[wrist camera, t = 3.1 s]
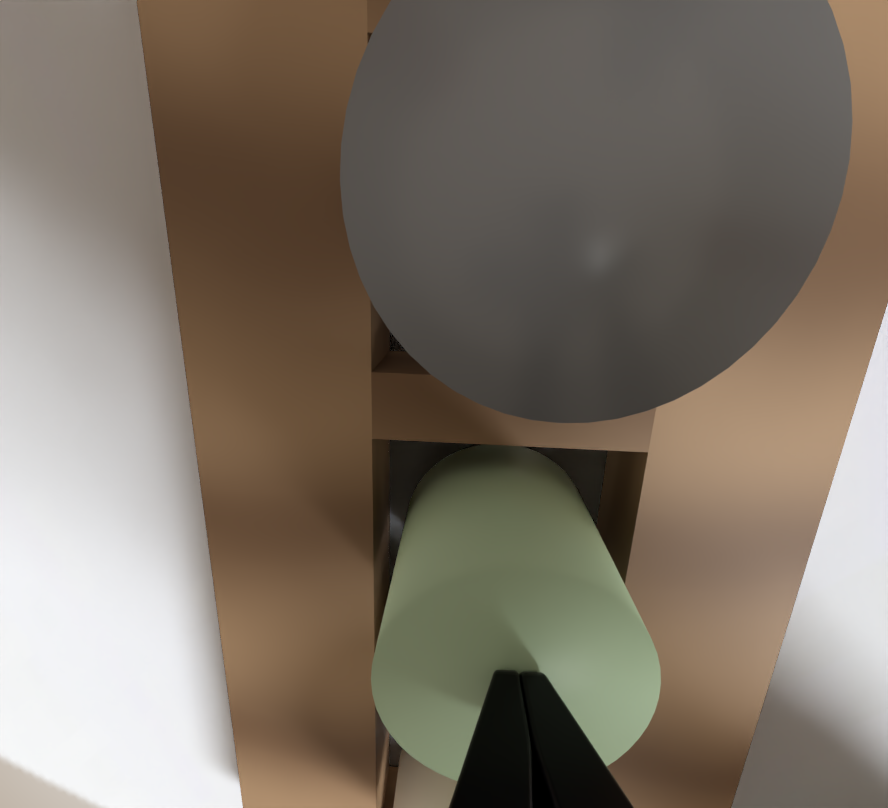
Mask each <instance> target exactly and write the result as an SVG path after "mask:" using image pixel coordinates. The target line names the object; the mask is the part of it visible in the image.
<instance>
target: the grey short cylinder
mask: <svg viewBox="0 0 888 808" xmlns="http://www.w3.org/2000/svg"><path fill="white" fill-rule="evenodd" d="M852 123H853V119H852V98H851V82H850V76H849V71H848V65H847V60H846V54H845V49H844V44H843V41H842V38H841V35H840V32H839V29H838V26H837V23H836V20H835V17H834V14H833V11H832V9H831V7H830V5H829V3H828V1H827V0H391V1H390V3H389V4H388V6H387V8H386V10H385V12H384V13H383V15H382V17H381V19H380V21H379V22H378V24H377V26H376V28H375V30H374V31H373V33H372V35H371V37H370V40H369V42H368V45H367V47H366V49H365V52H364V54H363V57H362V59H361V62H360V64H359V67H358V69H357V72H356V75H355V79H354V83H353V86H352V90H351V94H350V97H349V101H348V105H347V108H346V115H345V122H344V128H343V135H342V142H341V162H340V187H341V199H342V210H343V218H344V222H345V227H346V232H347V237H348V242H349V246H350V250H351V253H352V256H353V259H354V262H355V265H356V268H357V270H358V273H359V276H360V279H361V281H362V283H363V285H364V287H365V289H366V291H367V294H368V296H369V298H370V300H371V302H372V304H373V306H374V308H375V309H376V311H377V312H378V314H379V315H380V317H381V318H382V320H383V322H384V323H385V325H386V326H387V328H388V329H389V331H390V332H391V333H392V335H393V336H394V337H395V338H396V339H397V341H398V342H399V343H400V344H401V345H402V347H403V348H404V349H405V350H406V351H407V353H408V354H409V355H410V356H411V357H412V358H414V359H415V360H416V361H417V362H418V363H419V364H420V365H421V366H422V367H423V368H424V369H425V370H427V371H428V372H429V373H430V374H431V375H432V376H434V377H435V378H437V379H438V380H439V381H441V382H442V383H444V384H445V385H447V386H448V387H449V388H451V389H452V390H454V391H455V392H457V393H459V394H461V395H463V396H465V397H467V398H469V399H470V400H472V401H474V402H476V403H478V404H481V405H483V406H486V407H488V408H491V409H494V410H496V411H499V412H502V413H504V414H508V415H513V416H517V417H521V418H525V419H529V420H536V421H545V422H554V423H590V422H597V421H605V420H612V419H618V418H622V417H626V416H630V415H634V414H638V413H642V412H645V411H648V410H651V409H653V408H656V407H659V406H661V405H664V404H666V403H669V402H671V401H674V400H676V399H678V398H680V397H682V396H684V395H686V394H687V393H689V392H691V391H693V390H695V389H697V388H699V387H701V386H702V385H704V384H705V383H707V382H708V381H710V380H711V379H713V378H714V377H716V376H717V375H719V374H720V373H722V372H723V371H725V370H726V369H728V368H729V367H730V366H731V365H732V364H734V363H735V362H736V361H737V360H738V359H740V358H741V357H742V356H743V355H744V354H745V353H747V352H748V351H749V350H750V349H751V348H753V347H754V346H755V345H756V343H757V342H758V341H759V340H760V339H761V338H762V337H763V336H764V335H765V334H766V333H767V332H768V331H769V330H770V329H771V328H772V327H773V325H774V324H775V323H776V322H777V321H778V320H779V318H780V317H781V316H782V314H783V313H784V312H785V310H786V309H787V308H788V306H789V305H790V304H791V303H792V301H793V300H794V299H795V297H796V296H797V295H798V293H799V291H800V290H801V288H802V286H803V285H804V283H805V281H806V280H807V278H808V276H809V275H810V273H811V271H812V270H813V268H814V266H815V265H816V262H817V260H818V258H819V256H820V254H821V251H822V249H823V247H824V245H825V243H826V241H827V238H828V236H829V234H830V232H831V229H832V226H833V223H834V220H835V217H836V214H837V211H838V208H839V204H840V201H841V198H842V195H843V190H844V185H845V180H846V175H847V170H848V165H849V160H850V148H851V136H852Z"/></svg>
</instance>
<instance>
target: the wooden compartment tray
mask: <svg viewBox="0 0 888 808" xmlns="http://www.w3.org/2000/svg"><path fill="white" fill-rule="evenodd" d="M390 1H391V0H137V7H138V15H139V22H140V30H141V37H142V45H143V52H144V60H145V68H146V75H147V83H148V90H149V98H150V106H151V113H152V121H153V128H154V136H155V143H156V151H157V159H158V166H159V174H160V181H161V189H162V196H163V204H164V212H165V219H166V227H167V234H168V242H169V250H170V257H171V265H172V272H173V280H174V287H175V295H176V303H177V310H178V318H179V325H180V333H181V341H182V348H183V356H184V363H185V371H186V378H187V386H188V394H189V401H190V409H191V416H192V424H193V431H194V439H195V447H196V454H197V462H198V469H199V477H200V485H201V492H202V500H203V507H204V515H205V522H206V530H207V538H208V545H209V553H210V560H211V568H212V576H213V583H214V591H215V598H216V606H217V613H218V621H219V629H220V636H221V644H222V651H223V659H224V666H225V674H226V682H227V689H228V697H229V704H230V712H231V720H232V727H233V735H234V742H235V750H236V757H237V765H238V773H239V780H240V788H241V795H242V803H243V808H393V805H394V798H395V790H396V782H397V775H398V767H391V766H389V732H388V730H387V729H386V727H385V725H384V724H383V722H382V720H381V718H380V716H379V714H378V711H377V709H376V706H375V702H374V698H373V695H372V686H371V670H372V662H373V658H374V653H375V649H376V645H377V640H378V636H379V632H380V627H381V623H382V619H383V614H384V610H385V606H386V602H387V597H388V593H389V589H390V440H405V441H425V442H445V443H466V444H486V445H507V446H527V447H548V448H568V449H589V450H608V452H607V459H606V465H605V472H604V479H603V485H602V492H601V499H600V505H599V512H598V519H597V525H596V528H597V530H598V532H599V534H600V536H601V538H602V540H603V542H604V544H605V546H606V548H607V550H608V552H609V554H610V556H611V558H612V560H613V562H614V564H615V566H616V568H617V570H618V572H619V574H620V576H621V578H622V580H623V582H624V584H625V586H626V588H627V590H628V592H629V594H630V596H631V598H632V600H633V602H634V604H635V606H636V608H637V610H638V612H639V614H640V616H641V618H642V620H643V623H644V625H645V627H646V629H647V631H648V633H649V635H650V637H651V639H652V641H653V644H654V646H655V649H656V651H657V654H658V659H659V664H660V670H661V687H660V694H659V700H658V703H657V706H656V709H655V712H654V714H653V717H652V719H651V721H650V723H649V725H648V726H647V728H646V729H645V731H644V732H643V734H642V735H641V736H640V738H639V739H638V740H637V741H636V742H635V743H634V745H633V746H632V747H631V748H630V749H629V750H628V751H627V752H625V753H624V754H623V755H622V756H621V757H619V758H618V759H617V760H616V761H614V762H613V763H611V764H610V765H608V766H607V768H608V769H609V771H610V772H611V774H612V775H613V777H614V778H615V780H616V781H617V783H618V784H619V786H620V787H621V789H622V790H623V792H624V793H625V795H626V796H627V798H628V799H629V801H630V802H631V804H632V805H633V807H634V808H731V806H732V803H733V800H734V796H735V793H736V790H737V787H738V784H739V780H740V777H741V774H742V771H743V767H744V764H745V761H746V758H747V755H748V751H749V748H750V745H751V742H752V738H753V735H754V732H755V729H756V726H757V722H758V719H759V716H760V713H761V709H762V706H763V703H764V700H765V697H766V693H767V690H768V687H769V684H770V680H771V677H772V674H773V671H774V668H775V664H776V661H777V658H778V655H779V651H780V648H781V645H782V642H783V639H784V635H785V632H786V629H787V626H788V622H789V619H790V616H791V613H792V610H793V606H794V603H795V600H796V597H797V593H798V590H799V587H800V584H801V581H802V577H803V574H804V571H805V568H806V564H807V561H808V558H809V555H810V551H811V548H812V545H813V542H814V539H815V535H816V532H817V529H818V526H819V522H820V519H821V516H822V513H823V510H824V506H825V503H826V500H827V497H828V493H829V490H830V487H831V484H832V481H833V477H834V474H835V471H836V468H837V464H838V461H839V458H840V455H841V452H842V448H843V445H844V442H845V439H846V435H847V432H848V429H849V426H850V423H851V419H852V416H853V413H854V410H855V406H856V403H857V400H858V397H859V394H860V390H861V387H862V384H863V381H864V377H865V374H866V371H867V368H868V365H869V361H870V358H871V355H872V352H873V348H874V345H875V342H876V339H877V336H878V332H879V329H880V326H881V323H882V319H883V316H884V313H885V310H886V307H887V303H888V0H827V1H828V3H829V5H830V7H831V9H832V11H833V14H834V17H835V20H836V23H837V26H838V29H839V32H840V35H841V38H842V41H843V44H844V49H845V54H846V60H847V65H848V71H849V76H850V82H851V98H852V119H853V123H852V136H851V148H850V160H849V165H848V170H847V175H846V180H845V185H844V190H843V195H842V198H841V201H840V204H839V208H838V211H837V214H836V217H835V220H834V223H833V226H832V229H831V232H830V234H829V236H828V238H827V241H826V243H825V245H824V247H823V249H822V251H821V254H820V256H819V258H818V260H817V262H816V265H815V266H814V268H813V270H812V271H811V273H810V275H809V276H808V278H807V280H806V281H805V283H804V285H803V286H802V288H801V290H800V291H799V293H798V295H797V296H796V297H795V299H794V300H793V301H792V303H791V304H790V305H789V306H788V308H787V309H786V310H785V312H784V313H783V314H782V316H781V317H780V318H779V320H778V321H777V322H776V323H775V324H774V325H773V327H772V328H771V329H770V330H769V331H768V332H767V333H766V334H765V335H764V336H763V337H762V338H761V339H760V340H759V341H758V342H757V343H756V345H755V346H754V347H753V348H751V349H750V350H749V351H748V352H747V353H745V354H744V355H743V356H742V357H741V358H740V359H738V360H737V361H736V362H735V363H734V364H732V365H731V366H730V367H729V368H728V369H726V370H725V371H723V372H722V373H720V374H719V375H717V376H716V377H714V378H713V379H711V380H710V381H708V382H707V383H705V384H704V385H702V386H701V387H699V388H697V389H695V390H693V391H691V392H689V393H687V394H686V395H684V396H682V397H680V398H678V399H676V400H674V401H671V402H669V403H666V404H664V405H661V406H659V407H656V408H653V409H651V410H648V411H645V412H642V413H638V414H634V415H630V416H626V417H622V418H618V419H612V420H605V421H597V422H590V423H554V422H545V421H536V420H529V419H525V418H521V417H517V416H513V415H508V414H504V413H502V412H499V411H496V410H494V409H491V408H488V407H486V406H483V405H481V404H478V403H476V402H474V401H472V400H470V399H469V398H467V397H465V396H463V395H461V394H459V393H457V392H455V391H454V390H452V389H451V388H449V387H448V386H447V385H445V384H444V383H442V382H441V381H439V380H438V379H437V378H435V377H434V376H432V375H431V374H430V373H429V372H428V371H427V370H425V369H424V368H423V367H422V366H421V365H420V364H419V363H418V362H417V361H416V360H415V359H414V358H412V357H411V356H410V355H409V354H408V353H407V351H390V331H389V329H388V328H387V326H386V325H385V323H384V322H383V320H382V318H381V317H380V315H379V314H378V312H377V311H376V309H375V308H374V306H373V304H372V302H371V300H370V298H369V296H368V294H367V291H366V289H365V287H364V285H363V283H362V281H361V279H360V276H359V273H358V270H357V268H356V265H355V262H354V259H353V256H352V253H351V250H350V246H349V242H348V237H347V232H346V227H345V222H344V218H343V210H342V199H341V187H340V162H341V142H342V135H343V128H344V122H345V115H346V108H347V105H348V101H349V97H350V94H351V90H352V86H353V83H354V79H355V75H356V72H357V69H358V67H359V64H360V62H361V59H362V57H363V54H364V52H365V49H366V47H367V45H368V42H369V40H370V37H371V35H372V33H373V31H374V30H375V28H376V26H377V24H378V22H379V21H380V19H381V17H382V15H383V13H384V12H385V10H386V8H387V6H388V4H389V3H390Z"/></svg>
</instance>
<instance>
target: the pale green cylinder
mask: <svg viewBox="0 0 888 808" xmlns="http://www.w3.org/2000/svg"><path fill="white" fill-rule="evenodd" d="M495 670H512V671H517V672H518V674H520V673H521V672H523V671H527V672H541V673H543V674H545V675H546V676H547V678H548V679H549V681H550V682H551V684H552V685H553V687H554V688H555V690H556V691H557V693H558V694H559V696H560V697H561V699H562V700H563V702H564V703H565V705H566V706H567V708H568V709H569V711H570V712H571V714H572V715H573V717H574V718H575V720H576V721H577V723H578V724H579V726H580V727H581V729H582V730H583V732H584V733H585V735H586V736H587V738H588V739H589V741H590V742H591V744H592V745H593V747H594V748H595V750H596V751H597V753H598V754H599V756H600V757H601V759H602V760H603V762H604V763H605V765H606V766H608V765H610V764H611V763H613V762H614V761H616V760H617V759H618V758H619V757H621V756H622V755H623V754H624V753H625V752H627V751H628V750H629V749H630V748H631V747H632V746H633V745H634V743H635V742H636V741H637V740H638V739H639V738H640V736H641V735H642V734H643V732H644V731H645V729H646V728H647V726H648V725H649V723H650V721H651V719H652V717H653V714H654V712H655V709H656V706H657V703H658V700H659V694H660V687H661V670H660V664H659V659H658V654H657V651H656V649H655V646H654V644H653V641H652V639H651V637H650V635H649V633H648V631H647V629H646V627H645V625H644V623H643V620H642V618H641V616H640V614H639V612H638V610H637V608H636V606H635V604H634V602H633V600H632V598H631V596H630V594H629V592H628V590H627V588H626V586H625V584H624V582H623V580H622V578H621V576H620V574H619V572H618V570H617V568H616V566H615V564H614V562H613V560H612V558H611V556H610V554H609V552H608V550H607V548H606V546H605V544H604V542H603V540H602V538H601V536H600V534H599V532H598V530H597V528H596V526H595V524H594V522H593V520H592V518H591V516H590V514H589V512H588V510H587V508H586V506H585V504H584V502H583V500H582V498H581V495H580V493H579V491H578V490H577V488H576V486H575V484H574V483H573V481H572V480H571V478H570V477H569V476H568V475H567V473H566V472H565V471H564V470H563V469H562V468H561V467H559V466H558V465H557V464H556V463H555V462H553V461H552V460H550V459H549V458H548V457H546V456H544V455H542V454H540V453H538V452H536V451H533V450H531V449H528V448H525V447H521V446H507V445H486V444H482V445H475V446H472V447H468V448H464V449H462V450H459V451H457V452H454V453H452V454H451V455H449V456H447V457H445V458H443V459H442V460H441V461H439V462H438V463H437V464H435V465H434V466H433V467H432V468H431V469H430V470H429V471H428V472H427V473H426V474H425V475H424V476H423V478H422V479H421V480H420V481H419V483H418V485H417V486H416V488H415V490H414V492H413V494H412V497H411V499H410V502H409V507H408V511H407V515H406V519H405V524H404V528H403V532H402V537H401V541H400V545H399V550H398V554H397V558H396V563H395V567H394V571H393V576H392V580H391V584H390V589H389V593H388V597H387V602H386V606H385V610H384V614H383V619H382V623H381V627H380V632H379V636H378V640H377V645H376V649H375V653H374V658H373V662H372V670H371V686H372V695H373V698H374V702H375V706H376V709H377V711H378V714H379V716H380V718H381V720H382V722H383V724H384V725H385V727H386V729H387V730H388V732H389V733H390V735H391V736H392V737H393V738H394V739H395V741H396V742H397V743H398V744H399V745H400V746H401V747H402V748H403V749H404V750H405V751H406V752H407V753H408V754H409V755H411V756H412V757H413V758H415V759H416V760H417V761H419V762H420V763H421V764H423V765H424V766H426V767H428V768H430V769H431V770H433V771H435V772H437V773H439V774H441V775H443V776H445V777H448V778H450V779H452V780H455V781H458V778H459V775H460V772H461V769H462V766H463V763H464V760H465V757H466V754H467V751H468V748H469V745H470V742H471V739H472V736H473V733H474V730H475V727H476V724H477V721H478V718H479V715H480V712H481V709H482V706H483V703H484V700H485V697H486V694H487V691H488V688H489V685H490V682H491V679H492V676H493V673H494V671H495Z"/></svg>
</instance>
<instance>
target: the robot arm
mask: <svg viewBox="0 0 888 808" xmlns="http://www.w3.org/2000/svg"><path fill="white" fill-rule="evenodd" d="M449 808H634V807H633V805H632V804H631V802H630V801H629V799H628V798H627V796H626V795H625V793H624V792H623V790H622V789H621V787H620V786H619V784H618V783H617V781H616V780H615V778H614V777H613V775H612V774H611V772H610V771H609V769H608V768H607V766H606V765H605V763H604V762H603V760H602V759H601V757H600V756H599V754H598V753H597V751H596V750H595V748H594V747H593V745H592V744H591V742H590V741H589V739H588V738H587V736H586V735H585V733H584V732H583V730H582V729H581V727H580V726H579V724H578V723H577V721H576V720H575V718H574V717H573V715H572V714H571V712H570V711H569V709H568V708H567V706H566V705H565V703H564V702H563V700H562V699H561V697H560V696H559V694H558V693H557V691H556V690H555V688H554V687H553V685H552V684H551V682H550V681H549V679H548V678H547V676H546V675H545V674H543V673H541V672H527V671H523V672H521V673H520V674H518V672H517V671H512V670H495V671H494V673H493V676H492V679H491V682H490V685H489V688H488V691H487V694H486V697H485V700H484V703H483V706H482V709H481V712H480V715H479V718H478V721H477V724H476V727H475V730H474V733H473V736H472V739H471V742H470V745H469V748H468V751H467V754H466V757H465V760H464V763H463V766H462V769H461V772H460V775H459V778H458V781H457V784H456V787H455V790H454V793H453V796H452V799H451V802H450V805H449Z"/></svg>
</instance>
